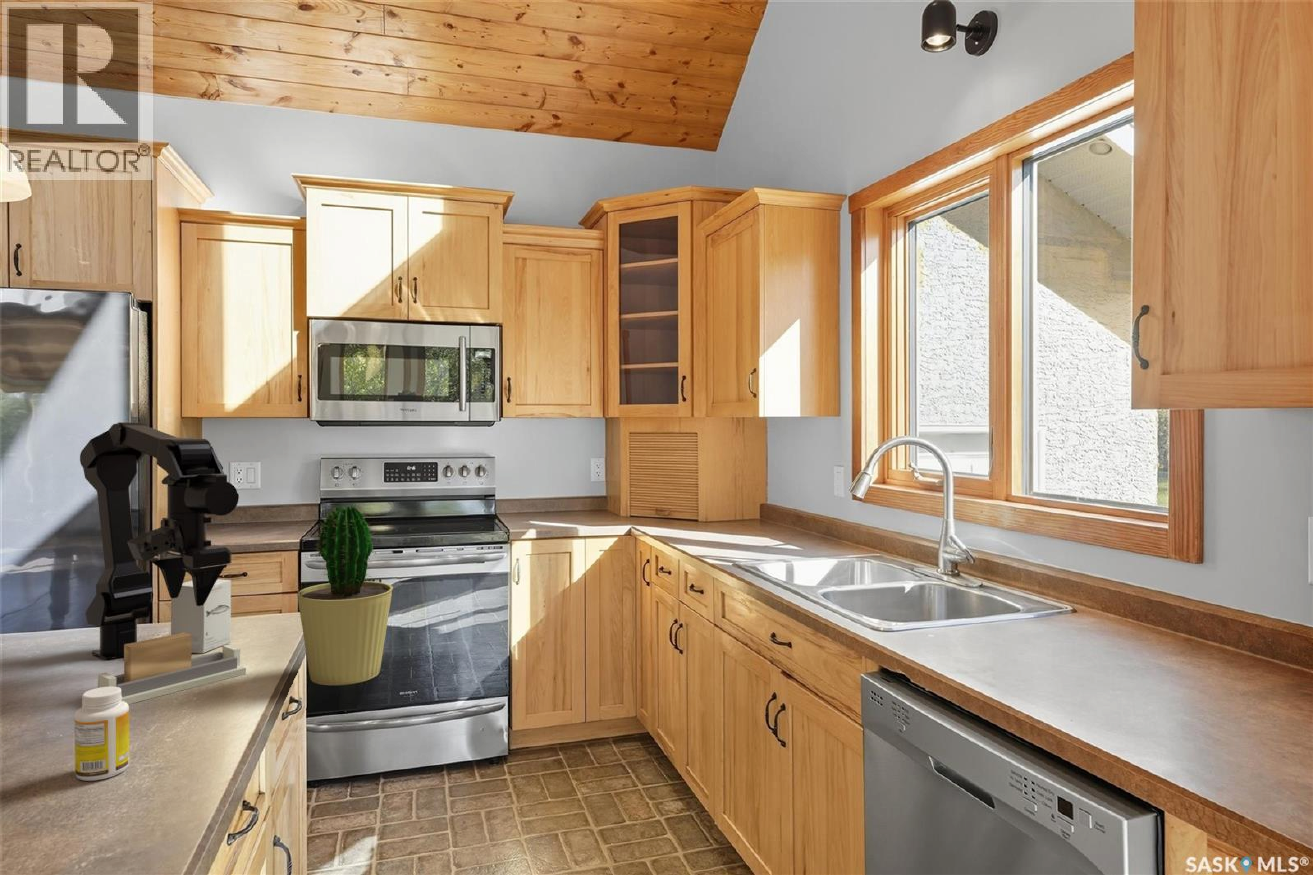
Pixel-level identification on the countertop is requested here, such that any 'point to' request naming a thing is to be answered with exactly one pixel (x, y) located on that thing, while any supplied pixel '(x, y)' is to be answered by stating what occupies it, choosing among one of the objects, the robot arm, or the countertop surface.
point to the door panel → (156, 656)
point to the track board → (178, 676)
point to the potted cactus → (345, 605)
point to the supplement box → (203, 616)
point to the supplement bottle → (101, 734)
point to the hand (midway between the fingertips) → (186, 601)
